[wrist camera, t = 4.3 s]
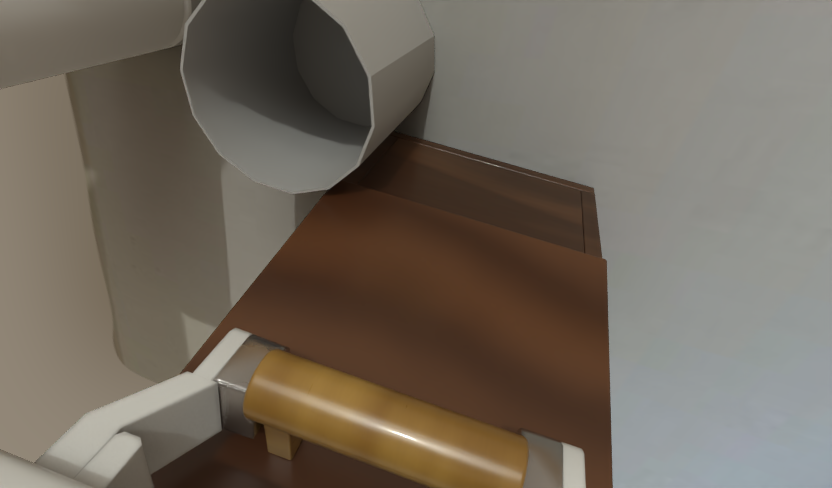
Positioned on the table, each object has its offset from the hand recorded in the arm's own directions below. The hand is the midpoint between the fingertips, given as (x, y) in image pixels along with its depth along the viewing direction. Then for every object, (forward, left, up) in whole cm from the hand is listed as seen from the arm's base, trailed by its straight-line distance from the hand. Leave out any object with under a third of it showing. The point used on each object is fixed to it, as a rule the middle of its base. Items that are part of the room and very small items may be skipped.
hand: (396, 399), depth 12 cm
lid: (+2, 0, -4) cm, 4 cm away
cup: (-3, -8, -19) cm, 21 cm away
